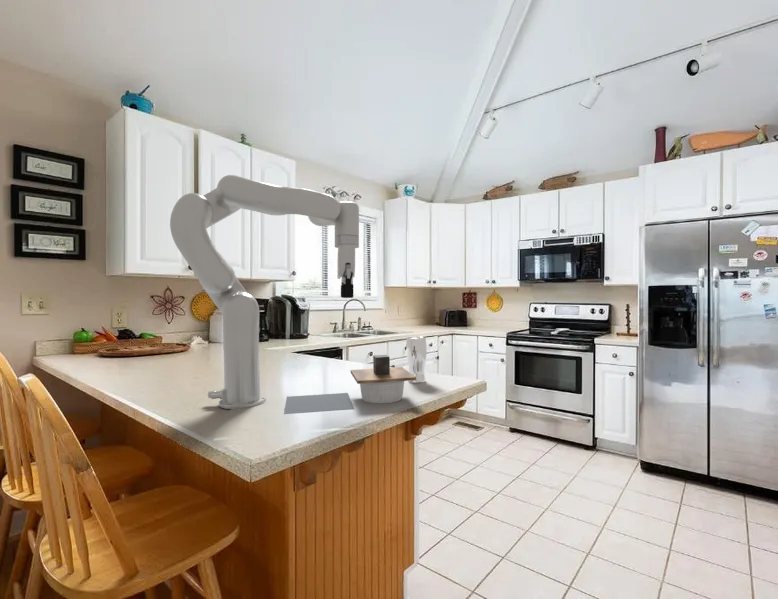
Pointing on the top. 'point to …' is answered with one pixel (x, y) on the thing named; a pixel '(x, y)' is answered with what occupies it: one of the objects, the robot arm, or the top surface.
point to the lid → (381, 372)
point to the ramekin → (382, 392)
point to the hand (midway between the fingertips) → (346, 297)
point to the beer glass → (416, 357)
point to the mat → (318, 403)
